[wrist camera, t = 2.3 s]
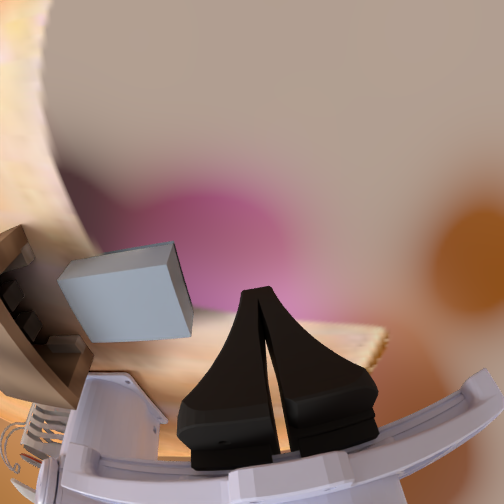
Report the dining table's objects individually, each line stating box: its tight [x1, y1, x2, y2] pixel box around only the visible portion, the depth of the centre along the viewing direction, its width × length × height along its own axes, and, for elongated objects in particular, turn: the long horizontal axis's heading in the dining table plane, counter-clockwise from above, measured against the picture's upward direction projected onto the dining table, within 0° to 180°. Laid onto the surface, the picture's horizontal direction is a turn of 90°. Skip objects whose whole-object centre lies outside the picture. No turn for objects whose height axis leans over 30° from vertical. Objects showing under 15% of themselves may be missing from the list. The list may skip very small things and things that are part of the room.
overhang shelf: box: [0, 225, 94, 410], centre depth 13 cm, size 12×10×6 cm
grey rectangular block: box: [57, 241, 193, 343], centre depth 15 cm, size 5×7×2 cm
